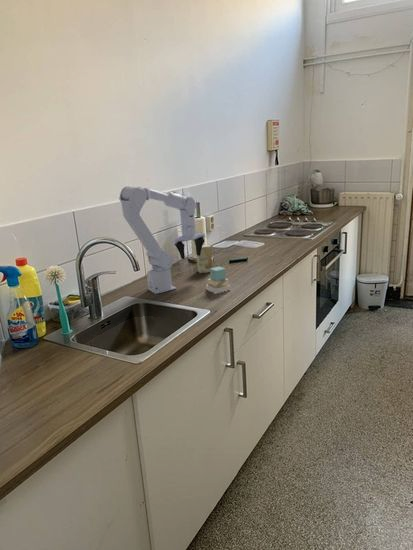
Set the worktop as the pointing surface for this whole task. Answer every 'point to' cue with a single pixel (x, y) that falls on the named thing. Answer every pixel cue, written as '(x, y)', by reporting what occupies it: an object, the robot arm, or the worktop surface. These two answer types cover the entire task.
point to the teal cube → (217, 274)
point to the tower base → (217, 289)
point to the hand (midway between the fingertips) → (190, 256)
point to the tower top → (218, 283)
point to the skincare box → (205, 259)
